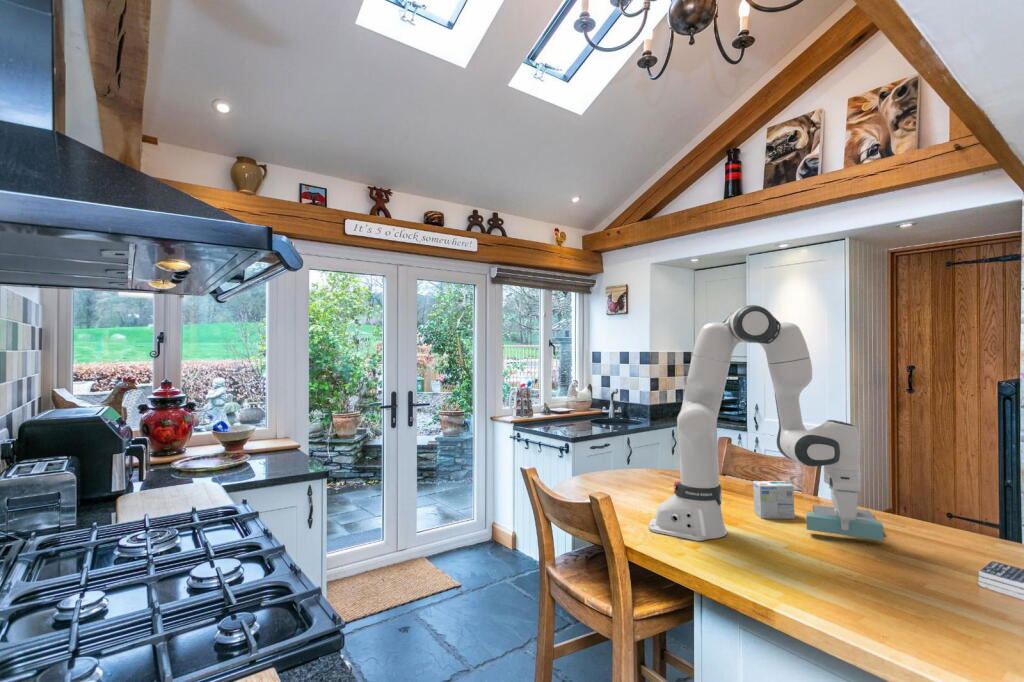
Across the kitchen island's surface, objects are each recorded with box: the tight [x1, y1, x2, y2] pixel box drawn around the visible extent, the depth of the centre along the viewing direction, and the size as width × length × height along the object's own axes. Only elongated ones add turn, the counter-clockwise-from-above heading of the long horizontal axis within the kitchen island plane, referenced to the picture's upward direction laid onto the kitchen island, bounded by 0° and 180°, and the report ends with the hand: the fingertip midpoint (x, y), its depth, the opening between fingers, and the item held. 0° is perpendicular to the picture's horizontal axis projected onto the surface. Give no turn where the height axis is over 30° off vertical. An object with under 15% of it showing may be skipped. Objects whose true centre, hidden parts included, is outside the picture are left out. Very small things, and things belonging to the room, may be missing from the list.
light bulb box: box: [752, 480, 796, 520], centre depth 165 cm, size 11×7×11 cm, turn 84°
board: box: [812, 505, 885, 537], centre depth 158 cm, size 16×22×8 cm
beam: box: [805, 511, 884, 542], centre depth 143 cm, size 18×4×4 cm, turn 60°
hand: (843, 526), depth 143 cm, fingers closed on beam, 4 cm apart
